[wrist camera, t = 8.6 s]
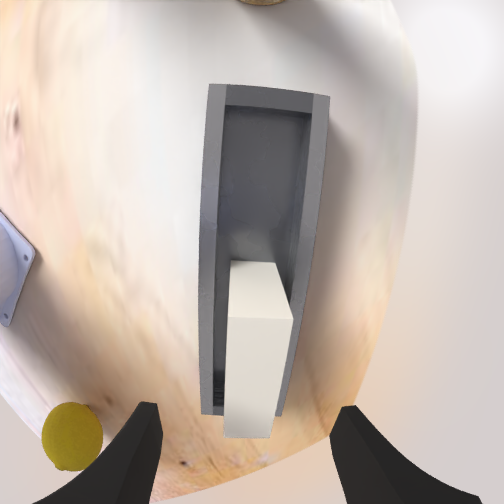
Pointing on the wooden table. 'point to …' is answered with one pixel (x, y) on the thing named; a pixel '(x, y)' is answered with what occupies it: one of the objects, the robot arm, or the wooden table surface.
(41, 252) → the wooden table surface
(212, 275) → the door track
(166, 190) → the wooden table surface
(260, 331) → the door panel
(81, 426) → the lemon
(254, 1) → the sprinkles bottle
